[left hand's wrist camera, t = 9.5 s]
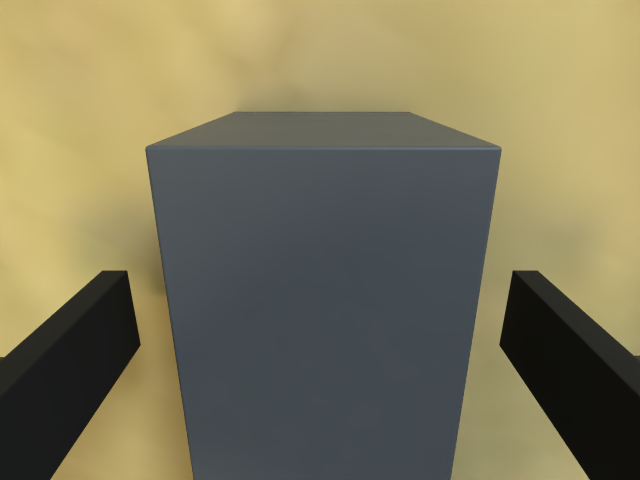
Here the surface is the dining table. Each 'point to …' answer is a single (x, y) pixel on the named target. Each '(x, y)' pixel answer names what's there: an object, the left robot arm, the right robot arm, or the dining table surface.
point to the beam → (322, 290)
